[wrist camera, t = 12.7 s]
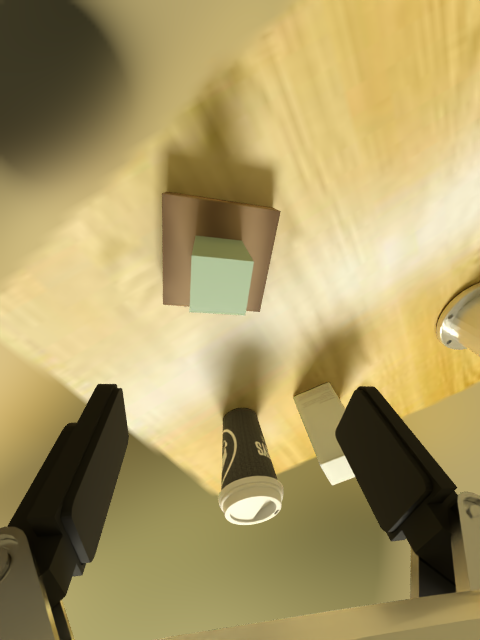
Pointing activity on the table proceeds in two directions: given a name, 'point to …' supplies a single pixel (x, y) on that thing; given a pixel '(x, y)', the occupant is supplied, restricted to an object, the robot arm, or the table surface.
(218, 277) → the sage block
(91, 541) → the robot arm
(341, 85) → the table surface
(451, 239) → the table surface
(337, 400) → the supplement box
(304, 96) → the table surface
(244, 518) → the coffee cup
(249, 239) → the block
